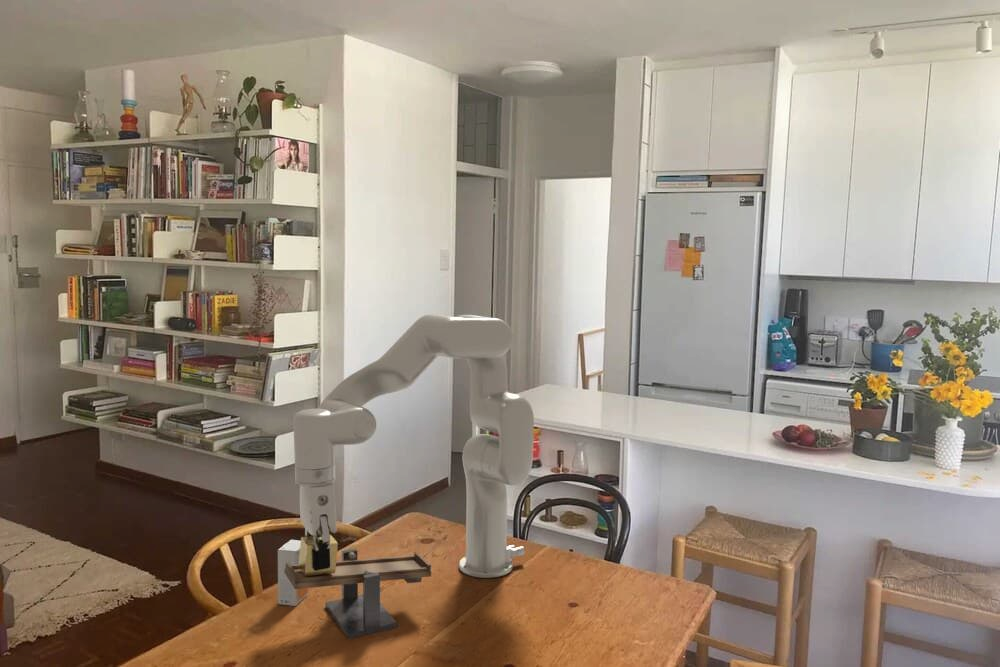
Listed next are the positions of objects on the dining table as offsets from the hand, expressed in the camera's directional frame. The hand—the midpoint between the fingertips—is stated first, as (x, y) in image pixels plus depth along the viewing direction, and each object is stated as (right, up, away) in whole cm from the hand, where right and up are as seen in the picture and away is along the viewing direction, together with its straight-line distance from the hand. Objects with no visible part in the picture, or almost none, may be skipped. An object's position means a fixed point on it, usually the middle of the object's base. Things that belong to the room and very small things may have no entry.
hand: (317, 562), depth 153 cm
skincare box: (-8, -12, +13) cm, 19 cm away
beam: (+7, -5, +4) cm, 10 cm away
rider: (0, -1, 0) cm, 1 cm away
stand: (+7, -13, +5) cm, 16 cm away
